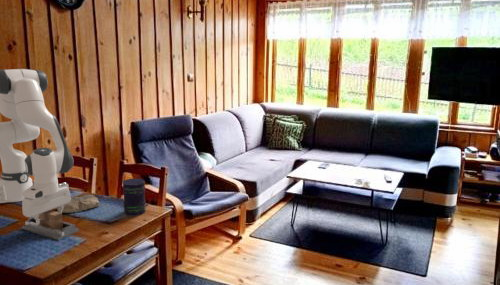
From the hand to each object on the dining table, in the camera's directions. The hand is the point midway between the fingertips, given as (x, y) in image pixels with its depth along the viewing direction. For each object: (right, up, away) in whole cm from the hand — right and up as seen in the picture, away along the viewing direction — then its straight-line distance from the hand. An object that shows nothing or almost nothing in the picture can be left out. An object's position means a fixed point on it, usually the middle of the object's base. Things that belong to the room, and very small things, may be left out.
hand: (49, 219), depth 168 cm
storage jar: (+29, -1, +22) cm, 37 cm away
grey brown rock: (0, 0, +26) cm, 26 cm away
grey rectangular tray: (0, -4, +1) cm, 5 cm away
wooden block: (0, -3, +1) cm, 4 cm away
